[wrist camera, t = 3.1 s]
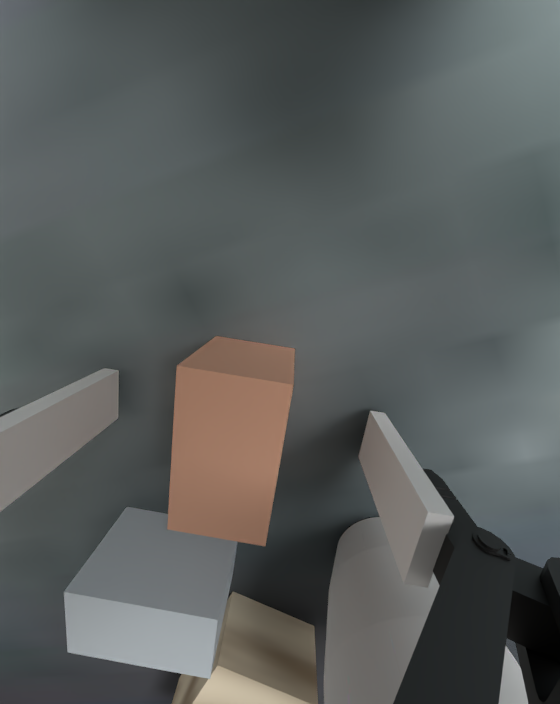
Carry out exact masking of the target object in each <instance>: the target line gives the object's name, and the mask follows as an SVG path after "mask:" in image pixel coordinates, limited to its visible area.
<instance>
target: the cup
mask: <svg viewBox="0 0 560 704" xmlns="http://www.w3.org/2000/svg"><path fill="white" fill-rule="evenodd" d="M439 586H440V585H439V583H438V581H437V579H436V577H435V575H434V573H433V575H432V578H431V581H430V583H429V586H428V588H426V587H420V586H414V585H408V584H404V583H403V581H402V578H401V575H400V572H399V569H398V567H397V564H396V561H395V558H394V555H393V553H392V550H391V547H390V544H389V541H388V539H387V536H386V533H385V530H384V527H383V525H382V522H381V519H380V517H373V518H368V519H364V520H361V521H359V522H357V523H355V524H353V525H352V526H350V527H349V528H348V529H347V530H346V531H345V532H344V533H343V534H342V536H341V538H340V540H339V542H338V546H337V551H336V556H335V561H334V566H333V571H332V576H331V581H330V587H329V597H328V614H327V632H326V649H325V667H324V704H393V702H394V700H395V697H396V695H397V692H398V690H399V687H400V685H401V682H402V680H403V677H404V675H405V672H406V670H407V667H408V665H409V662H410V659H411V657H412V654H413V652H414V649H415V647H416V644H417V642H418V639H419V637H420V634H421V632H422V629H423V627H424V624H425V622H426V619H427V617H428V614H429V611H430V609H431V606H432V604H433V601H434V599H435V596H436V594H437V591H438V589H439ZM499 704H528V699H527V694H526V690H525V685H524V680H523V676H522V671H521V668H520V667H519V665H518V663H517V662H516V660H515V658H514V657H513V655H512V654H511V652H510V651H509V650H508V648H507V647H505V655H504V663H503V671H502V680H501V688H500V696H499Z"/></svg>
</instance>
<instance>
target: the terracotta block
mask: <svg viewBox="0 0 560 704" xmlns="http://www.w3.org/2000/svg"><path fill="white" fill-rule="evenodd" d="M294 362H295V349H294V348H288V347H282V346H276V345H269V344H263V343H257V342H251V341H245V340H238V339H232V338H226V337H220V336H215V337H214V338H213V339H211V340H210V341H209V342H207V343H206V344H205V345H203V346H202V347H201V348H199V349H198V350H197V351H195V352H194V353H193V354H191V355H190V356H189V357H188V358H186V359H185V360H184V361H182V362H181V363H180V364H178V365H177V368H176V385H175V403H174V420H173V438H172V455H171V472H170V490H169V507H168V525H167V529H168V530H173V531H179V532H185V533H191V534H196V535H202V536H208V537H214V538H220V539H225V540H231V541H237V542H243V543H248V544H254V545H260V546H266V540H267V534H268V529H269V523H270V517H271V512H272V506H273V500H274V494H275V489H276V483H277V477H278V472H279V466H280V460H281V455H282V449H283V443H284V437H285V432H286V426H287V420H288V415H289V409H290V403H291V397H292V392H293V386H294Z"/></svg>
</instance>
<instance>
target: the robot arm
mask: <svg viewBox="0 0 560 704" xmlns="http://www.w3.org/2000/svg"><path fill="white" fill-rule="evenodd" d="M118 413H119V370H113V369H107V368H103V369H101V370H99V371H97V372H95V373H93V374H91V375H89V376H86V377H84V378H82V379H80V380H78V381H76V382H74V383H72V384H69V385H67V386H65V387H63V388H61V389H59V390H57V391H55V392H53V393H50V394H48V395H46V396H44V397H42V398H40V399H38V400H36V401H33V402H31V403H29V404H27V405H25V406H23V407H20V408H16V409H13V410H10V411H8V412H5V413H3V414H1V415H0V512H1V511H2V510H4V509H5V508H6V507H7V506H9V505H10V504H11V503H12V502H14V501H15V500H16V499H17V498H19V497H20V496H21V495H22V494H24V493H25V492H26V491H27V490H29V489H30V488H31V487H33V486H34V485H35V484H36V483H38V482H39V481H40V480H41V479H43V478H44V477H45V476H46V475H48V474H49V473H50V472H51V471H53V470H54V469H55V468H56V467H58V466H59V465H60V464H61V463H63V462H64V461H65V460H66V459H68V458H69V457H70V456H72V455H73V454H74V453H75V452H77V451H78V450H79V449H80V448H82V447H83V446H84V445H85V444H87V443H88V442H89V441H90V440H92V439H93V438H94V437H95V436H97V435H98V434H99V433H100V432H102V431H103V430H104V429H106V428H107V427H108V426H109V425H111V424H112V423H113V422H114V421H116V420H117V419H118ZM358 457H359V460H360V463H361V466H362V469H363V471H364V474H365V477H366V480H367V483H368V485H369V488H370V491H371V494H372V497H373V499H374V502H375V505H376V508H377V511H378V513H379V516H380V519H381V522H382V525H383V527H384V530H385V533H386V536H387V539H388V541H389V544H390V547H391V550H392V553H393V555H394V558H395V561H396V564H397V567H398V569H399V572H400V575H401V578H402V581H403V583H404V584H408V585H414V586H420V587H426V588H428V586H429V583H430V581H431V578H432V575H433V573H434V575H435V577H436V579H437V581H438V583H439V585H440V586H439V589H438V591H437V594H436V596H435V599H434V601H433V604H432V606H431V609H430V611H429V614H428V617H427V619H426V622H425V624H424V627H423V629H422V632H421V634H420V637H419V639H418V642H417V644H416V647H415V649H414V652H413V654H412V657H411V659H410V662H409V665H408V667H407V670H406V672H405V675H404V677H403V680H402V682H401V685H400V687H399V690H398V692H397V695H396V697H395V700H394V702H393V704H499V696H500V688H501V680H502V671H503V663H504V655H505V647H506V639H507V638H508V639H510V640H512V641H514V642H515V643H516V648H517V652H518V657H519V662H520V666H521V671H522V676H523V680H524V685H525V690H526V694H527V699H528V704H560V558H553V557H551V558H550V559H548V560H547V562H546V564H545V566H544V568H541V567H538V566H536V565H533V564H531V563H528V562H526V561H523V560H521V559H518V558H516V557H515V556H514V554H513V552H512V551H511V549H510V548H509V547H508V546H507V545H506V544H505V543H504V542H503V541H502V540H501V539H500V538H498V537H497V536H495V535H494V534H492V533H491V532H489V531H487V530H484V529H482V528H479V527H477V526H476V524H475V523H474V522H473V520H472V519H471V518H470V516H469V515H468V513H467V512H466V511H465V509H464V508H463V507H462V505H461V504H460V503H459V501H458V500H456V497H455V496H454V494H453V493H452V492H451V491H450V489H449V488H448V486H447V485H446V484H445V482H444V481H443V479H441V478H440V477H439V476H438V475H437V474H435V473H434V472H433V471H432V470H429V469H422V468H421V466H420V465H419V463H418V462H417V460H416V459H415V457H414V456H413V454H412V453H411V451H410V450H409V448H408V447H407V445H406V444H405V442H404V441H403V439H402V438H401V436H400V435H399V433H398V432H397V430H396V429H395V427H394V426H393V424H392V423H391V421H390V420H389V418H388V417H387V415H386V414H385V413H382V412H376V411H370V413H369V417H368V421H367V425H366V429H365V433H364V437H363V441H362V445H361V449H360V453H359V456H358Z"/></svg>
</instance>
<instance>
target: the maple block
mask: <svg viewBox="0 0 560 704" xmlns="http://www.w3.org/2000/svg"><path fill="white" fill-rule="evenodd" d="M172 704H318V694H317V673H316V651H315V629H314V626H313V625H311V624H308V623H306V622H304V621H301V620H299V619H297V618H294V617H292V616H290V615H287V614H285V613H283V612H280V611H278V610H276V609H273V608H271V607H269V606H266V605H264V604H262V603H259V602H257V601H255V600H252V599H250V598H248V597H245V596H243V595H240V594H238V593H236V592H232V594H231V595H230V597H229V598H228V600H227V604H226V608H225V613H224V618H223V622H222V627H221V631H220V636H219V641H218V645H217V650H216V654H215V659H214V663H213V668H212V673H211V677H210V679H207V678H202V677H196V676H191V675H186V674H182V675H181V676H180V678H179V681H178V684H177V688H176V691H175V694H174V698H173V701H172Z"/></svg>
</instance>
